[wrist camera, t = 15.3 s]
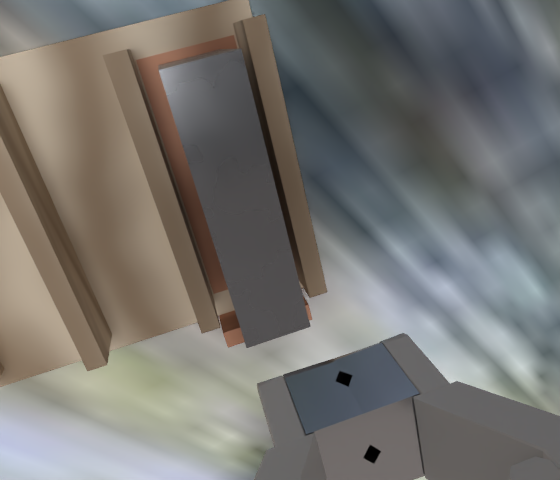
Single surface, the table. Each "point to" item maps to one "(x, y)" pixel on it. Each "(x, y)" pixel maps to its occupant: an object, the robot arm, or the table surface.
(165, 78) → the blanking panel
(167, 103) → the rack
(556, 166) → the table surface
